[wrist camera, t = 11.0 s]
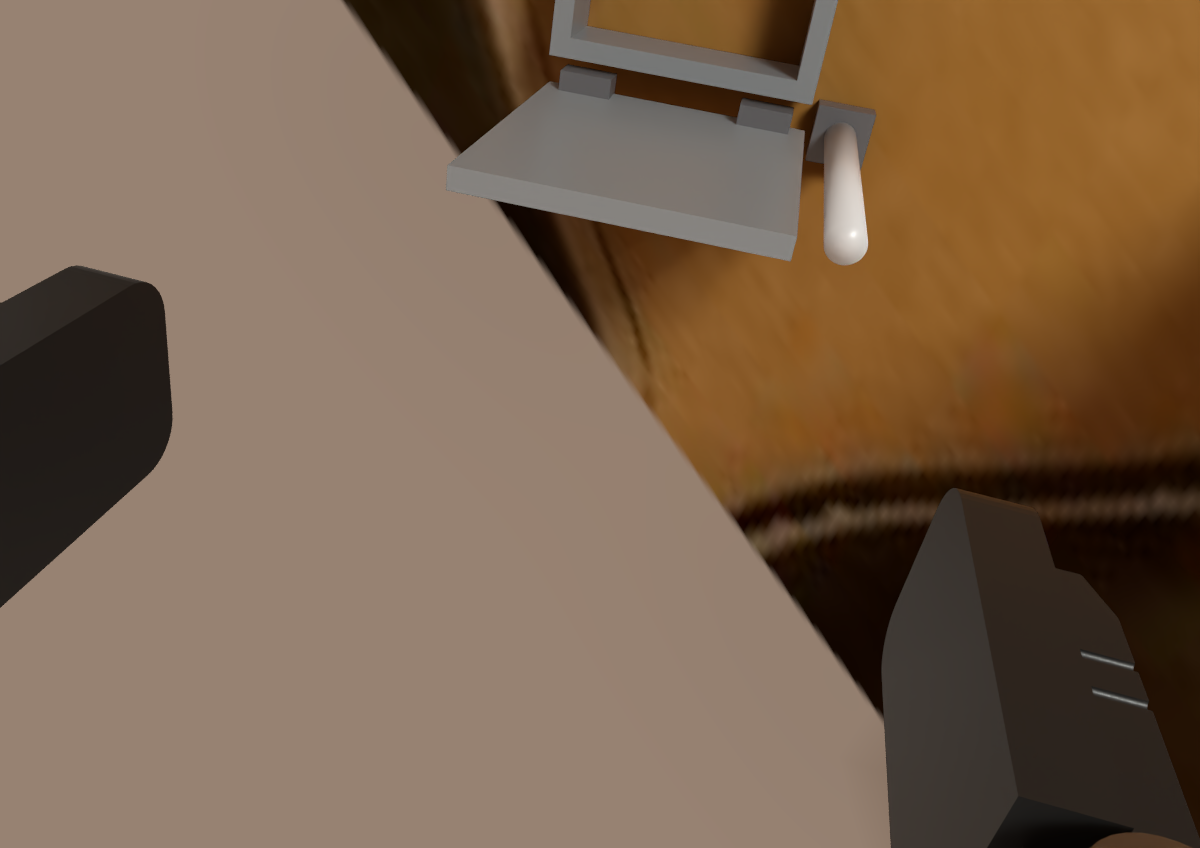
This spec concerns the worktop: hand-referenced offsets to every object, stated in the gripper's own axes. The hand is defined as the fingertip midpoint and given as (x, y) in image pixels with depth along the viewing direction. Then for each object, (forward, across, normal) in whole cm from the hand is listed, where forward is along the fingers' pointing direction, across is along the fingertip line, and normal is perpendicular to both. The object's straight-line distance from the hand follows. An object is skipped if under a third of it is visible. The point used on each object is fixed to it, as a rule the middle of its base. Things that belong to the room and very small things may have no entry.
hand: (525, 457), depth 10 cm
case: (+26, +1, -2) cm, 26 cm away
